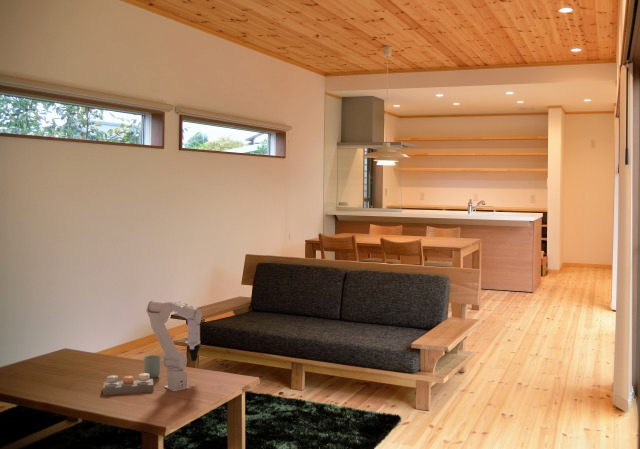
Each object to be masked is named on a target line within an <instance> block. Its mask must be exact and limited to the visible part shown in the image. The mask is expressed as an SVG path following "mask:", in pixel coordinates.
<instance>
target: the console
mask: <svg viewBox="0 0 640 449" xmlns="http://www.w3.org/2000/svg"><path fill="white" fill-rule="evenodd" d="M148 392H149V393H150V392H154V378H150V380H148V381H139V379H134V383H132V384H124V383H123V380H118V382H117V383H112V384H110V383H107V381H103V386H102V395H103V396H107V395H109V396H110V395H120V394H136V393H148Z"/></svg>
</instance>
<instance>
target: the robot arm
mask: <svg viewBox="0 0 640 449" xmlns="http://www.w3.org/2000/svg"><path fill="white" fill-rule="evenodd" d="M173 312H175V313H176V314H177V315H178V316H179V317H182V318H184V319H186V320H187V341H185V342H184V343H185V344H187V345H188V346H187V350H188V352H189V355H190V360H191V361H192V362H194V361H197V360H198V353H199V350H200V347H201V325H200V324H201V322H202V318H203V313H202V312H203V311H202V310H201V309H200V308H197V307H194V306H193V305H188V303H182V304H180V305H179V304H177V303H174V302H172V301H163V300H154V299H152V300H150V301H149V302H148V304H147V306H146V313H147V315H148V317H149V321H150V327H151V329H152V331H153V333H154V334H155V337H156V338H157V341H158V342H159V344H160V347H161V348H162V351H163V354H162V356H161V359H162V360H163V365H164V366H165V369H166V371H167V374H166V375H167V376H166V377H167V385H164V386H163V388H166V390H167V389H168V390H170V391H172V392H179V391H182V390H183V391H184V390H186V389H189V388H190V387H189V386H188V374H187V372H186V371H185V368H186V367H187V363H188V358H187V356H186V355H184V353H183V352H182V351H181V350H179V349H177V347H176V344H175V343H174V340H173V338H172V337H171V335H170V333H169V331H168V328H167V326H166V323H167V322H168V320H169V318H170V315H171V314H172V313H173Z"/></svg>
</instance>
